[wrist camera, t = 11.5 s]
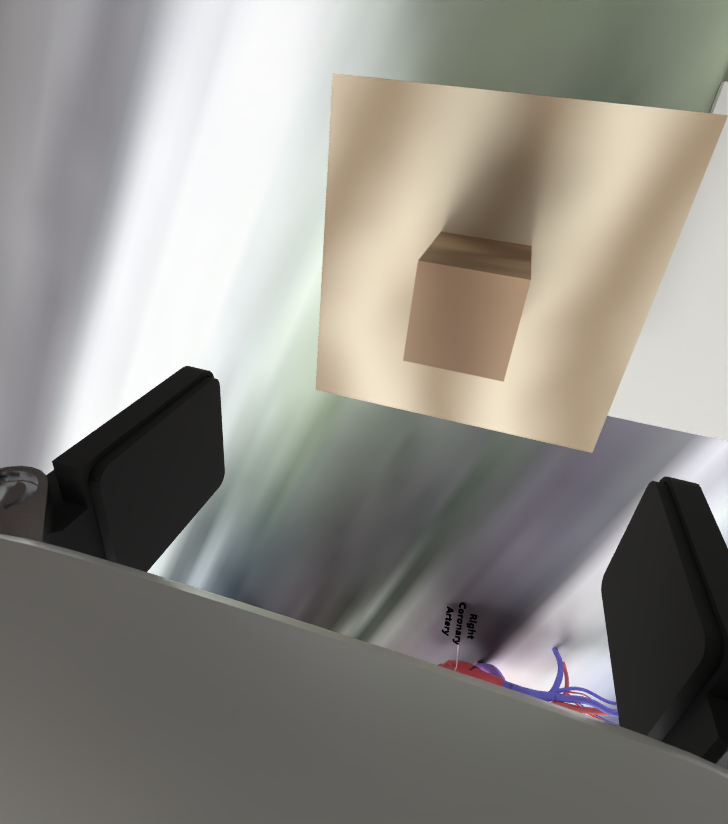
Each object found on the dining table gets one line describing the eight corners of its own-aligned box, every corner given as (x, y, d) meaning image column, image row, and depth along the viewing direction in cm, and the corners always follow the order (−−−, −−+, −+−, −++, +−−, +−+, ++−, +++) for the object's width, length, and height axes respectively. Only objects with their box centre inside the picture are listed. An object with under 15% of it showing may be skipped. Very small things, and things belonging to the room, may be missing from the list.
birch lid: (719, 115, 19) (792, 115, 14) (590, 442, 27) (604, 524, 22) (340, 75, 22) (277, 62, 17) (321, 382, 30) (275, 441, 25)
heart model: (404, 591, 48) (618, 631, 39) (430, 632, 54) (625, 677, 44) (341, 776, 39) (603, 887, 30) (381, 805, 44) (613, 906, 35)
